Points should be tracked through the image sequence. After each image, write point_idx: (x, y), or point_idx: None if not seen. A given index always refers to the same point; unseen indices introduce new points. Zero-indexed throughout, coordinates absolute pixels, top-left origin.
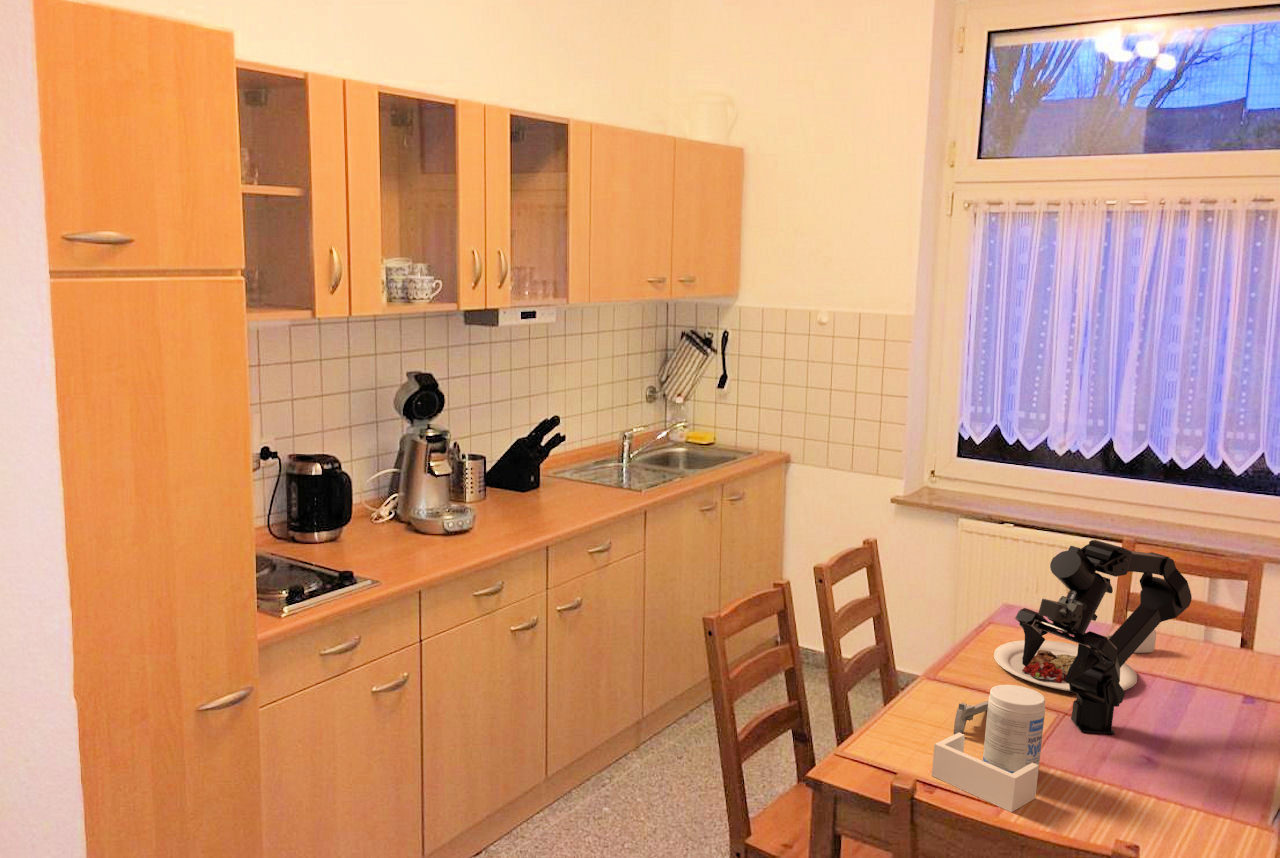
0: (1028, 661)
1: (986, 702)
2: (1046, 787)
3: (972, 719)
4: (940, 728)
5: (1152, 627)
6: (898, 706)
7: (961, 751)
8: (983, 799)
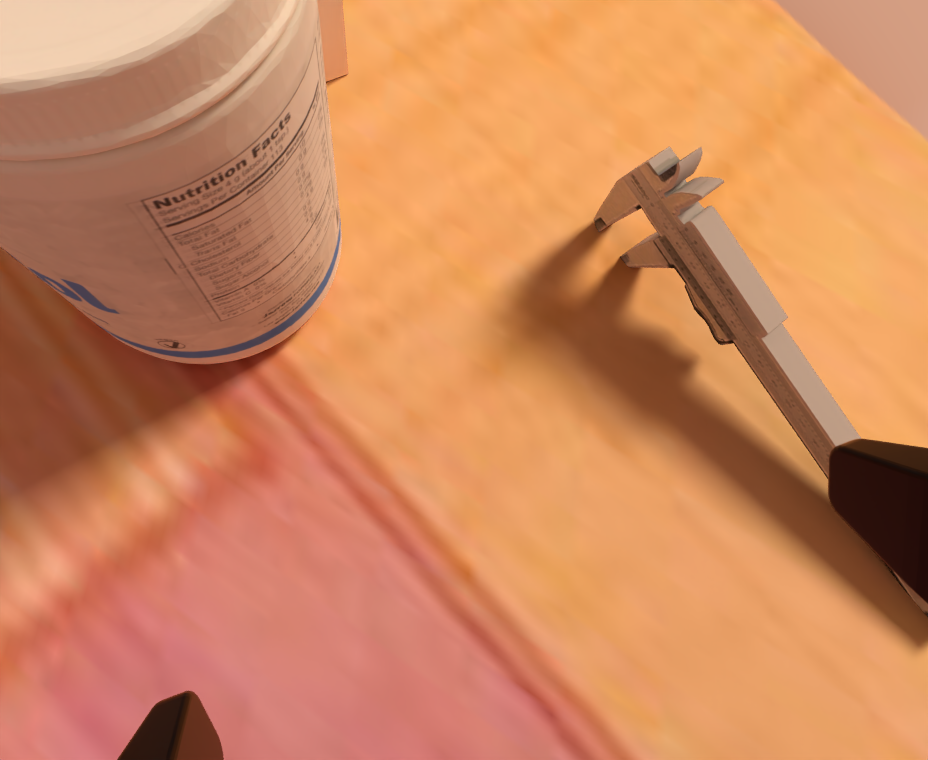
0: (889, 536)
1: None
2: (27, 330)
3: (717, 341)
4: None
5: None
6: (905, 136)
7: None
8: None
